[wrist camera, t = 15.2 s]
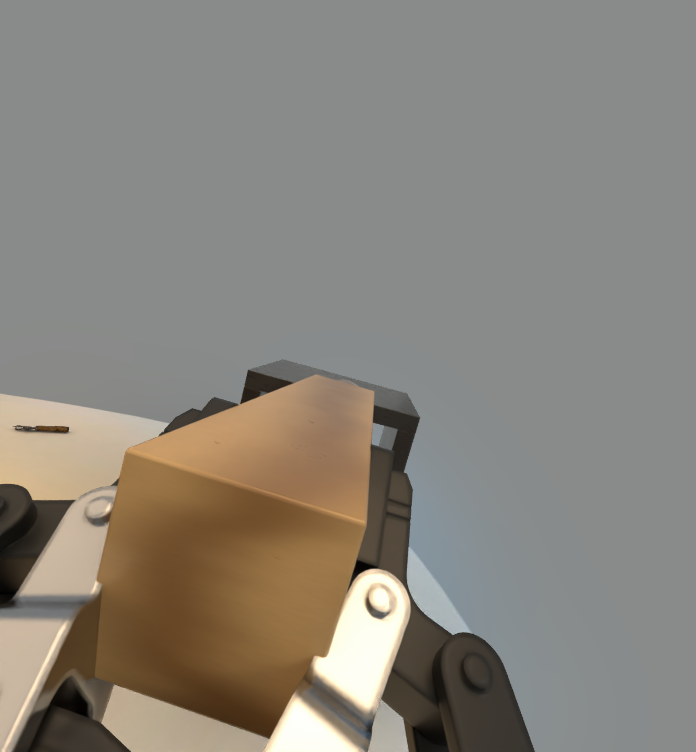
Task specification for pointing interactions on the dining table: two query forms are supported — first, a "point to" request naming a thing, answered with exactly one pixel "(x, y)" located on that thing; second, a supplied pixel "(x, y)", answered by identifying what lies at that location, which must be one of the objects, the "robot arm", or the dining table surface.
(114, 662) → the long wooden beam
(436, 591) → the dining table surface
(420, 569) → the dining table surface
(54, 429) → the can opener
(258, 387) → the shelf stand
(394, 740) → the dining table surface
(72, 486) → the dining table surface
